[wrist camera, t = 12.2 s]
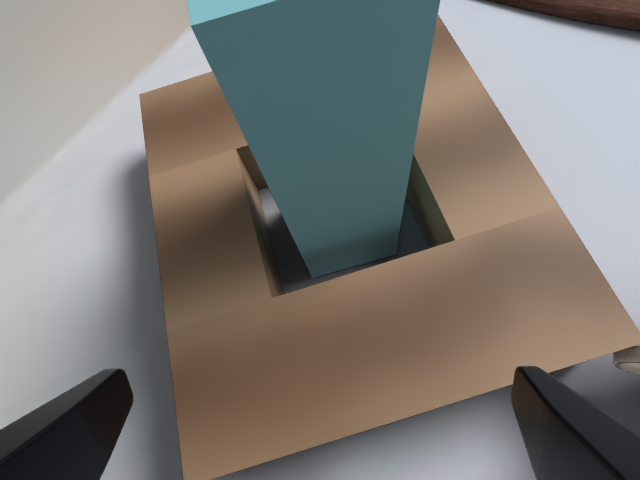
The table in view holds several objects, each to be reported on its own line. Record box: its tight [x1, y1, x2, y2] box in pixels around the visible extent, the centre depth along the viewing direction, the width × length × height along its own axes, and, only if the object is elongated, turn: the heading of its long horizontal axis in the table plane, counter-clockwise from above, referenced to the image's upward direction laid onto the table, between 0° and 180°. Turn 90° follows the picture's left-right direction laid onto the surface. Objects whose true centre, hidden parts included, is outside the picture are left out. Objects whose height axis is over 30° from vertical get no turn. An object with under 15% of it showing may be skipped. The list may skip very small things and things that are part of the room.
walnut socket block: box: [139, 15, 640, 480], centre depth 17 cm, size 17×15×4 cm
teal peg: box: [186, 0, 440, 278], centre depth 12 cm, size 4×4×13 cm
